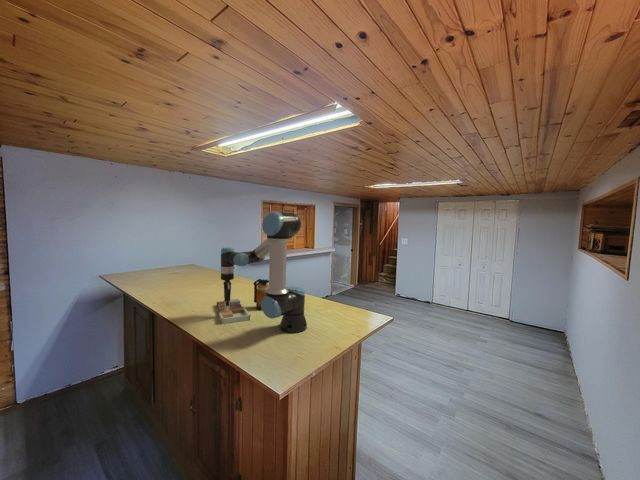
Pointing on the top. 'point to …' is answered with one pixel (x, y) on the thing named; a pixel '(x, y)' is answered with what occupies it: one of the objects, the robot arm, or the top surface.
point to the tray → (235, 317)
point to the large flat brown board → (234, 309)
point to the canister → (260, 291)
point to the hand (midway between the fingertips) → (227, 310)
